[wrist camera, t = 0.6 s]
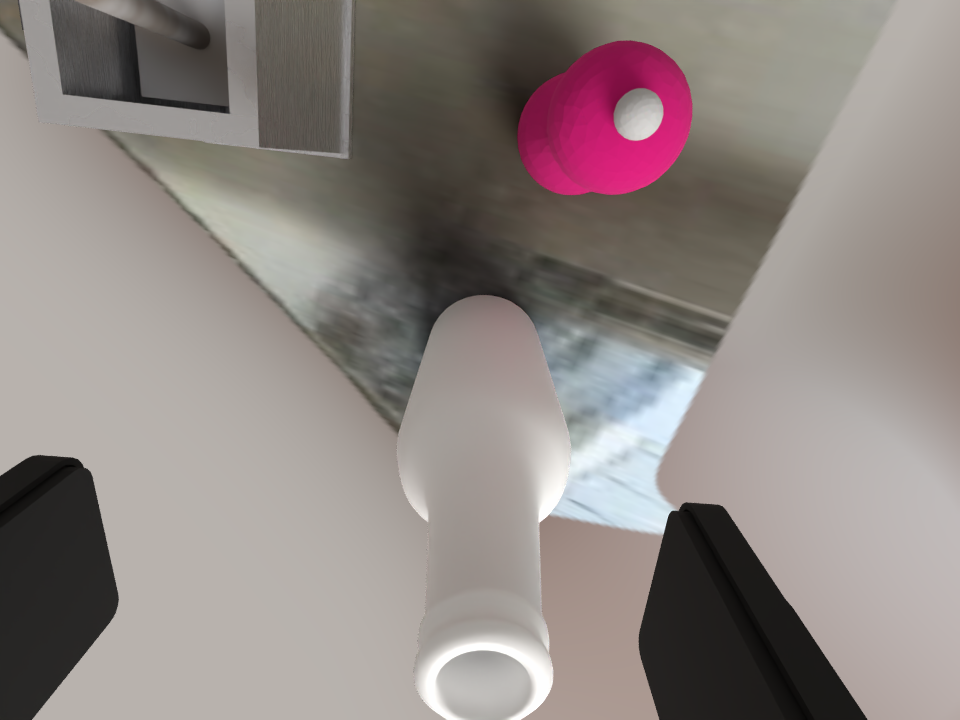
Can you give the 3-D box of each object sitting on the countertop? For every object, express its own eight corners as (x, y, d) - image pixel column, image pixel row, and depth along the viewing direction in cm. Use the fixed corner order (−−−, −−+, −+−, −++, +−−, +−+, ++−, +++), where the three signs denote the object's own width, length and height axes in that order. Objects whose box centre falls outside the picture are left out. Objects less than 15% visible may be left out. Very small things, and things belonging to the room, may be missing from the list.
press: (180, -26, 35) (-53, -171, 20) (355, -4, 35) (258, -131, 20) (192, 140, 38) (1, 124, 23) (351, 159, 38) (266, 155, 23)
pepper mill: (494, 157, 38) (505, 151, 20) (550, 59, 36) (621, -55, 17) (578, 210, 40) (664, 252, 21) (636, 118, 37) (791, 71, 19)
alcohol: (507, 272, 41) (558, 507, 13) (556, 366, 44) (687, 732, 16) (409, 324, 43) (262, 636, 14) (462, 412, 45) (426, 822, 17)
